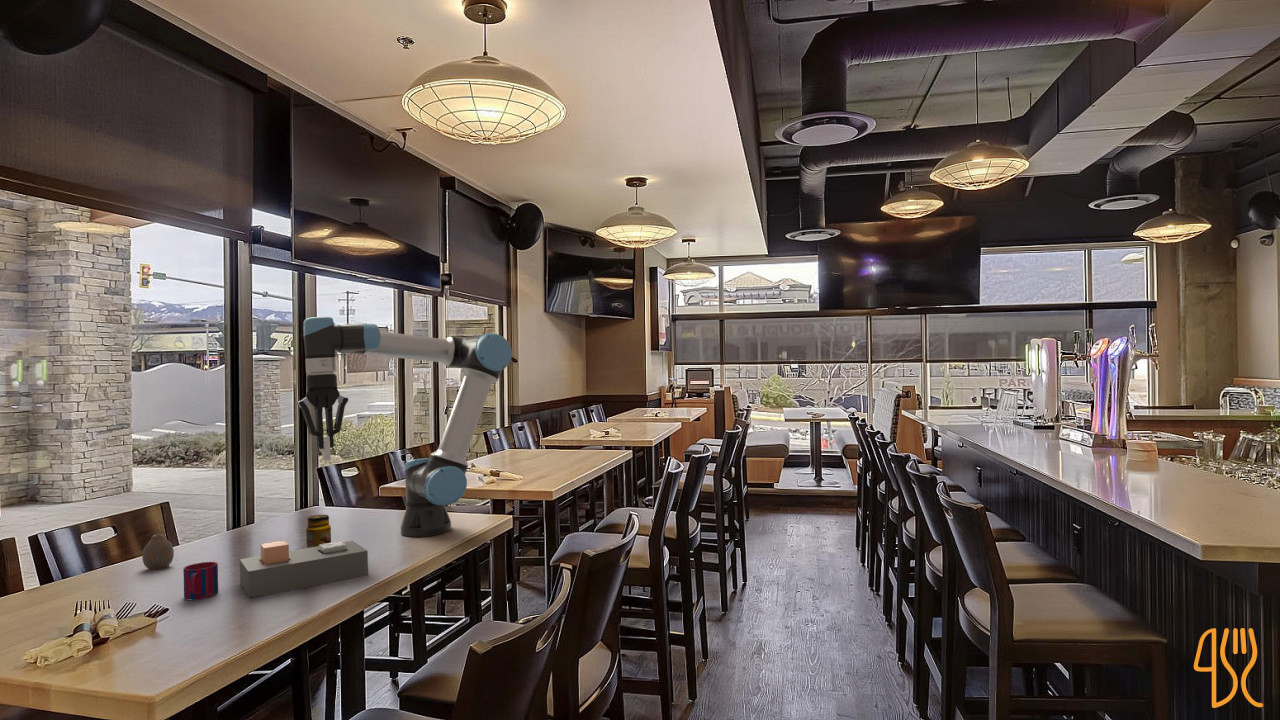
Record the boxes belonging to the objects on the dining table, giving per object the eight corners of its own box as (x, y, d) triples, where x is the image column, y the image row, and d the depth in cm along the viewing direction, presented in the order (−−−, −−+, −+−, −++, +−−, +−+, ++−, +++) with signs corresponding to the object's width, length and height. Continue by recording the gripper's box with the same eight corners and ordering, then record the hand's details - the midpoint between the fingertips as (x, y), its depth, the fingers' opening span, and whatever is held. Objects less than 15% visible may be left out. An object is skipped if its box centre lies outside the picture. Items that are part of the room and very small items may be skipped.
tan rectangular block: (285, 565, 170) (284, 540, 170) (289, 569, 166) (288, 544, 166) (261, 569, 167) (260, 544, 167) (264, 573, 163) (264, 548, 163)
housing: (352, 563, 184) (352, 540, 184) (368, 574, 173) (367, 550, 173) (240, 584, 168) (239, 559, 168) (248, 598, 157) (248, 571, 157)
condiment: (336, 560, 188) (335, 515, 188) (303, 567, 182) (302, 521, 182) (326, 555, 193) (325, 512, 193) (294, 562, 187) (293, 517, 187)
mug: (223, 589, 164) (222, 560, 164) (204, 603, 154) (204, 572, 155) (192, 592, 163) (191, 563, 163) (171, 606, 153) (170, 575, 153)
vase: (136, 571, 183) (135, 537, 183) (159, 564, 190) (159, 531, 190) (157, 572, 181) (156, 538, 182) (180, 564, 188) (179, 532, 188)
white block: (341, 564, 178) (340, 541, 178) (346, 568, 174) (346, 544, 174) (319, 568, 175) (319, 544, 175) (324, 572, 171) (323, 548, 171)
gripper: (299, 375, 183) (304, 464, 183) (350, 372, 191) (355, 458, 191) (292, 375, 189) (297, 462, 189) (342, 372, 197) (347, 455, 197)
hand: (326, 460), depth 190 cm, fingers closed
